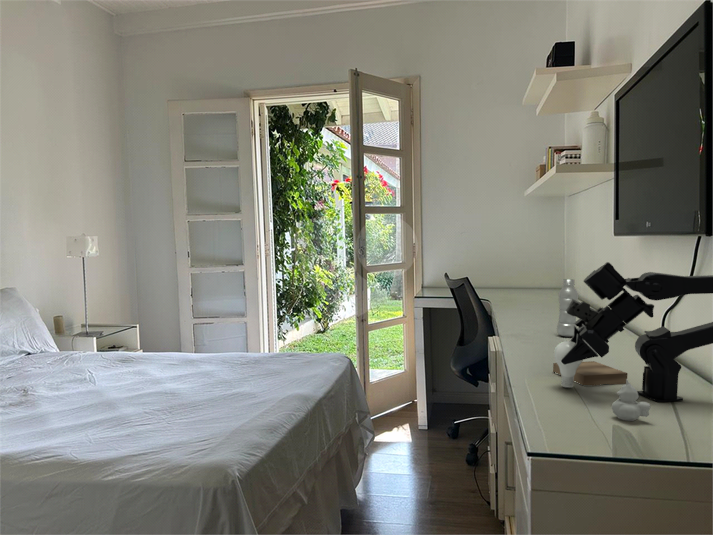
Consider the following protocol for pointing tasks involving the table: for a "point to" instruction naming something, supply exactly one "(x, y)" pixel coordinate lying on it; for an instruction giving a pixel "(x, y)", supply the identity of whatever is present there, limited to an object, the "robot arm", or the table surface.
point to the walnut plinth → (596, 374)
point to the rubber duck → (629, 404)
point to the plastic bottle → (565, 298)
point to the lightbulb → (567, 369)
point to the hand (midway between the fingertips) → (561, 359)
